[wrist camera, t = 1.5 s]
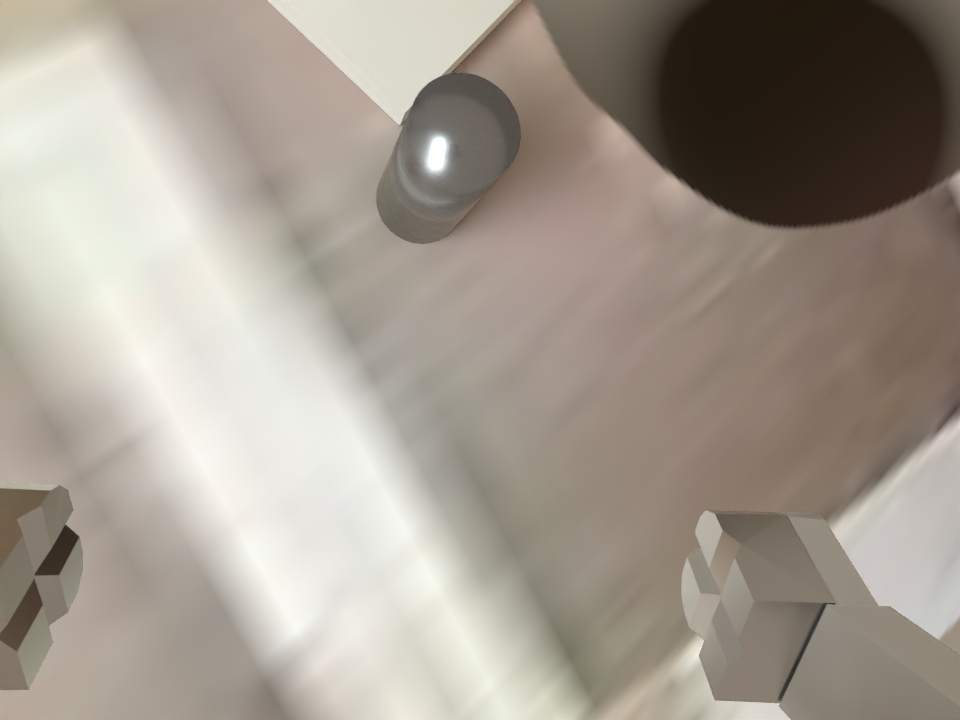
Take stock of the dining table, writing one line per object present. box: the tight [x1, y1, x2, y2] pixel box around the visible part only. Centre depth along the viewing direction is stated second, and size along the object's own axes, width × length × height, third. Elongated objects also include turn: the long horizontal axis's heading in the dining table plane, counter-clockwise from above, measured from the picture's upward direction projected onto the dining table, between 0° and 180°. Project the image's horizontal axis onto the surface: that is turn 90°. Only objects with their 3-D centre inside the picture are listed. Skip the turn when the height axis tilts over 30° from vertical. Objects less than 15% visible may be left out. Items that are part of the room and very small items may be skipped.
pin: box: [377, 73, 520, 244], centre depth 32 cm, size 4×4×9 cm
